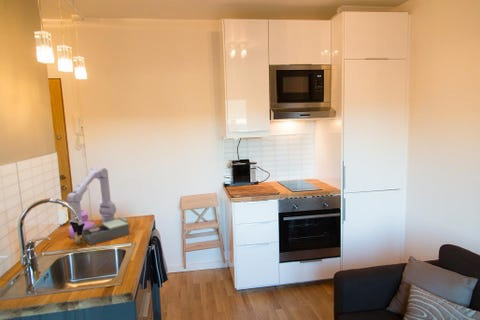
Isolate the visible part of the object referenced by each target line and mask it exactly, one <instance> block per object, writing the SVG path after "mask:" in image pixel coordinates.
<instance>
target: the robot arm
mask: <svg viewBox="0 0 480 320" xmlns="http://www.w3.org/2000/svg"><path fill="white" fill-rule="evenodd" d="M87 173H88V174H87V176H86V177H85V178H84V180H83V182H81V183H78V184H77V185H76V187H75V189H73V191H72V192H70V193H68V194H67V196H66V198H65V199H66V201H67V202H68V206H70V205H71V206H72V207H73V209H74V210H75V212H76V214H77V216H78V218H79V222H76V221H75V220H74V218H73V215H72V213H71V212H70V211H69V212H70V220H68V222H69V224H70V225H71V226H72V228H73V231H74V233H76V232H77V234H78V236H80V235H82V231H83V227H84V225H85V224H84V223H82V216H81V210H82V209H81V208H82V207H81V202H82V200H83V196H84V194H85V193H86V191H87V190H88V186H89V185H90V184H91V183H92V182H93V181H94V180H95V179H97V180H98V181H99V184H100V192H101V193H100V194H101V203H100V204H99V209H98V210H99V214H100V215H101V224H102V223H105V222H109V221H113V220H115V214H116V213H117V207H116V204H115V203H114V202H113V201H112V200H111V192H110V181H109V172H108V169H107V168H105V167H91V168H90V169H89V170H88V171H87Z"/></svg>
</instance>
